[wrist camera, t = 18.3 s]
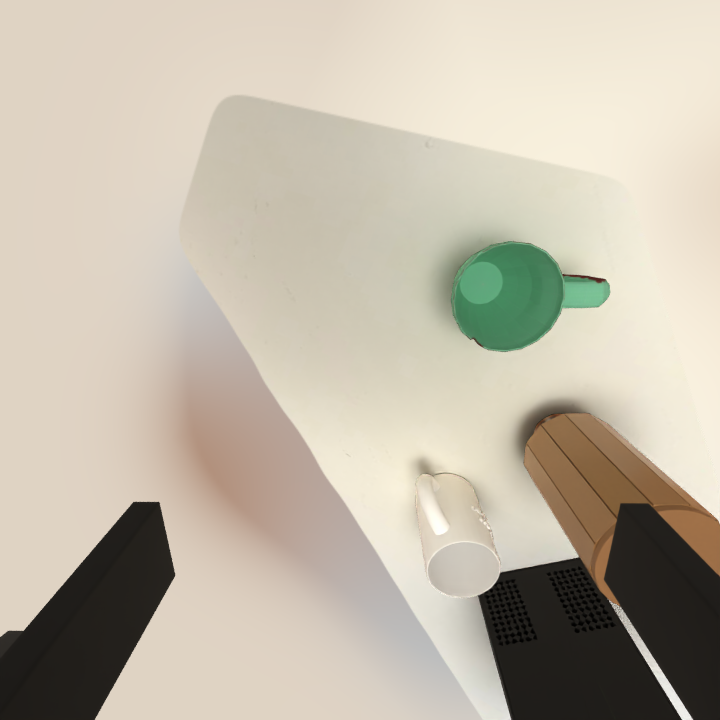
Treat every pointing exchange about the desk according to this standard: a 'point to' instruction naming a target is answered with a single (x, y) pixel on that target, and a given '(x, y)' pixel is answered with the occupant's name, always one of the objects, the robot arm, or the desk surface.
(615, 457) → the round wooden block
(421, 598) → the desk surface
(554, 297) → the mug
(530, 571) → the gaming console
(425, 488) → the mug
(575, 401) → the desk surface
